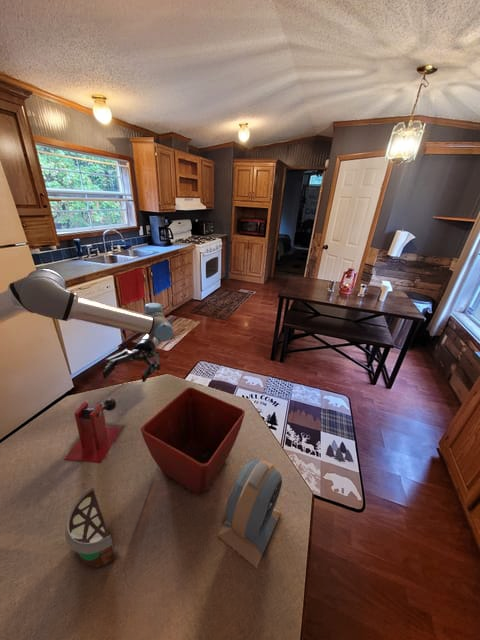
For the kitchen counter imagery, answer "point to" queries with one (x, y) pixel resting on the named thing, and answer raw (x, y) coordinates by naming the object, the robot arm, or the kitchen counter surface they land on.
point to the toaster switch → (92, 436)
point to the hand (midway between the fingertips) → (123, 377)
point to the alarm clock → (252, 510)
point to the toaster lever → (108, 406)
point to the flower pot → (193, 437)
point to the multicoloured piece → (89, 532)
